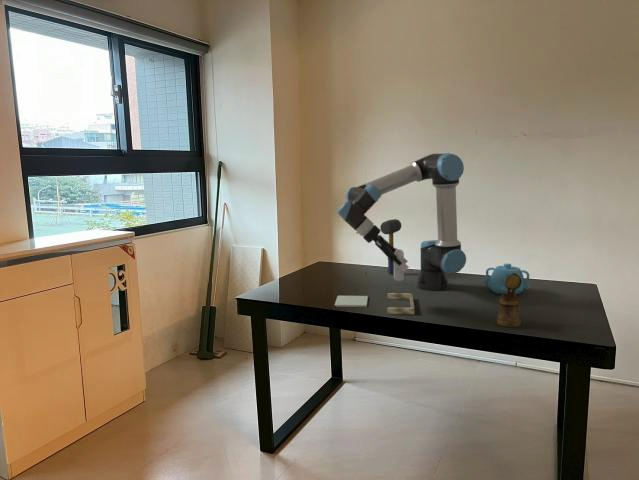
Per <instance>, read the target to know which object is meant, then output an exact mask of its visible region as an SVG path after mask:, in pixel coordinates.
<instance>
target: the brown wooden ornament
mask: <svg viewBox="0 0 639 480" xmlns="http://www.w3.org/2000/svg"><path fill="white" fill-rule="evenodd" d="M521 282H522V281H521V278H520V276H519V275H517V274H516V273H513V274H511V275H509V276H507V277H506V280H505V286H506V287H507V288H508V293H507V294H503V293H501V294H500V298H499V307H498V314H497V317H496V324H497V325H499V326H501V327H504V328H518V327H521V326H522V321H521V315H520V306H519V304H520V300H519V296H518V294H515V290H516V289H517V288H519V287H520V286H521ZM514 294H515V295H514Z"/></svg>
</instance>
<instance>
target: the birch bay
mask: <svg viewBox="0 0 639 480" xmlns="http://www.w3.org/2000/svg"><path fill="white" fill-rule="evenodd" d="M386 295H387V297H386V299H387V300H409V304H410V307H386V308H387V311H386V312H387V315H415V303H414V298H413V293H409V292H408V293H405V292H402V293H401V292H399V293H398V292H397V293H395V292H391V293H390V292H388V293H387V294H386Z"/></svg>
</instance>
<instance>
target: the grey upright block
mask: <svg viewBox="0 0 639 480" xmlns="http://www.w3.org/2000/svg"><path fill="white" fill-rule="evenodd" d="M394 254H395V255H396V256H398V257H399V258H400V259H401V260H402V261H403V262H404V258H405V252H404V251H403V250H402V249H401V248H397V250H395V252H394ZM404 277H405V272H404V271H403V270H402V269H401V268H400V267H399V266H397V265H396V264H395V263H394V274H393V279H394V281H397V282H399V281H400V282H401V281H403V280H404Z"/></svg>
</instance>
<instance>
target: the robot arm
mask: <svg viewBox="0 0 639 480" xmlns="http://www.w3.org/2000/svg"><path fill="white" fill-rule="evenodd" d="M464 170H465V167H464V162H463V161H462V158H461V157H459V156H458V155H457V154H454V153H450V152H446V153H430V154H428V155H425V156H424V157H422V158H419V159H417V160H415V161H413V162H412V161H411V162H410V165H407V166H405V167H403V168H401V169H398V170H396V171H394V172H391V173H389V174H386V175H384V176H381V177H379V178H376V179H374V180H371V181H368V182H367V183H364V184H361V185H358V186H353V187H350V188H348V189H347V191H346V193H345V199H346V201H345V202H344V204H342V205H341V207H339V209H338V210H337V214H338V216H339V217H341V219H342V220H343V221H344V222H345V223H346V224H348V225H349V226H350V227H351V228H353V230H355V234H357V235H358V234H359V235H360V237H363V239H364V240H365V241H366V243H368V244H369V243H371V242H372V241H374V242H375V243H374V245H375V246H377V248H378V249H379V250H381V252H382V253H383V254H384V255H385V256H386V257H387V259H388V258H389V259H390V260H391V262H394V263H395V264H396V265H397V266H399V267H400V268H401V269H402V270H403V271H404V273H405V272H406V271H407V270H408V269H409V268H410V267H409V265H408V264H407V263H408V260H407V259H406V257H404V262H403V261H402V260H401V259H400V258H399V257H398V256H396V255H395V254H394V252H395V250H397V249H398V248H397V247H396V248H395V246H394V247H393V246H392V245H391V244H389V241H387V240H386V239H385V238H384V237H383V236H382V235H381V234H380V233H381V229H380V227H378V226H377V225H375V224H374V222H373V221H372V220H371V219H370V218H369V217H367V215H365V214H367V213H368V212H369V210H370V209H371V208H372V207H373V206H375V204H376V203H377V202H378V201H379V199H380V198H381V197H382V196H383V195H385V194H387V193H389V192H393V191H394V190H396V189H399V188H401V187H404V186H406V185H409V184H411V183H413V182H417V183H418V182H423V181H426V180H431V182H432V186H433V187H434V188H435V191H436V192H435V193H436V221H437V239H435V240H431V239H430V240H423V241H422V242H421V243H420V270H419V271H420V272H419V275H418V276H417V277H418V278H417V280H416V287H417V288H419V289H421V290H426V291H442V290H447V289H448V288H449V279H448V277H447V274H450V275H451V274H457V273H459V272H460V271H462V269H463V268H464V267H465V266H466V263H467V254H465V252H464V251H463V250H462V242H461V241H459V239H458V224H457V223H458V219H457V218H458V217H457V214H458V213H457V189H456V188H457V186H458V185H459V184H460V178H461V177H462V175H463V174H464ZM446 273H447V274H446Z"/></svg>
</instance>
